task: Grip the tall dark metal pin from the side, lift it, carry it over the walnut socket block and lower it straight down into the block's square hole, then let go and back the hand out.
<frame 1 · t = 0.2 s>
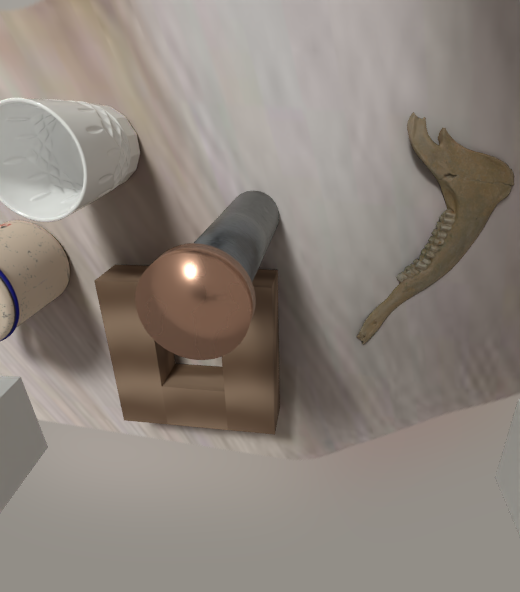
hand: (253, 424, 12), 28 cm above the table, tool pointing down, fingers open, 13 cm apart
white cup: (104, 145, 37), on the table
metal pin: (254, 216, 38), on the table
teacup with lid: (27, 269, 44), on the table
jawbone: (391, 235, 37), on the table
socket block: (201, 339, 44), on the table
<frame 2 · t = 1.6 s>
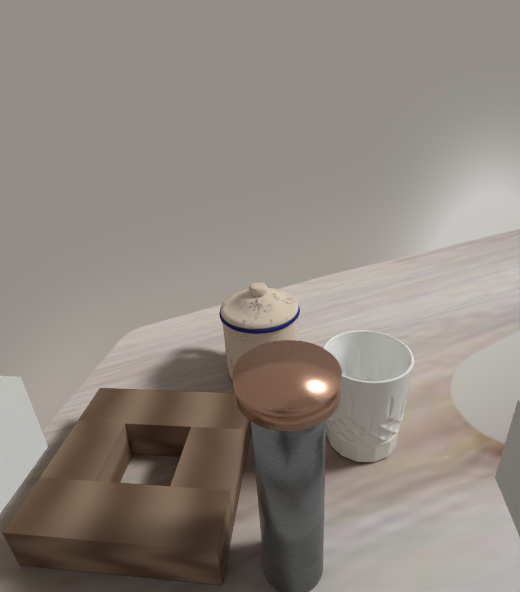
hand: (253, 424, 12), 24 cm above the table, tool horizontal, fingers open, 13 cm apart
white cup: (360, 437, 43), on the table
metal pin: (293, 563, 32), on the table
teacup with lid: (255, 366, 54), on the table
socket block: (153, 483, 39), on the table
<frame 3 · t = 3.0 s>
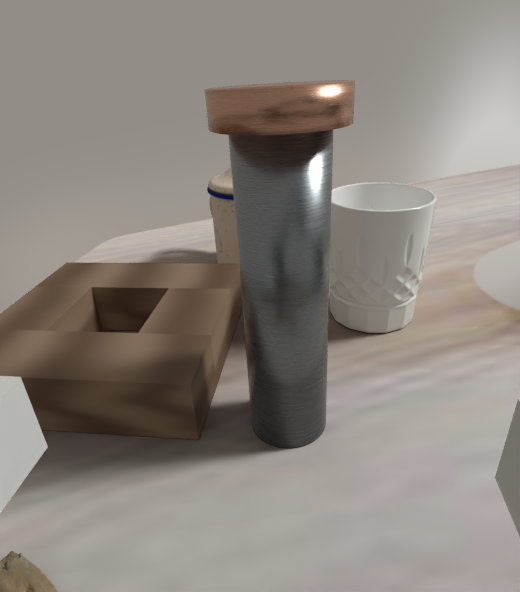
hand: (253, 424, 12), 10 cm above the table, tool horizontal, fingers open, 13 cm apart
white cup: (370, 314, 36), on the table
metal pin: (288, 419, 26), on the table
teacup with lid: (249, 262, 48), on the table
socket block: (123, 353, 33), on the table
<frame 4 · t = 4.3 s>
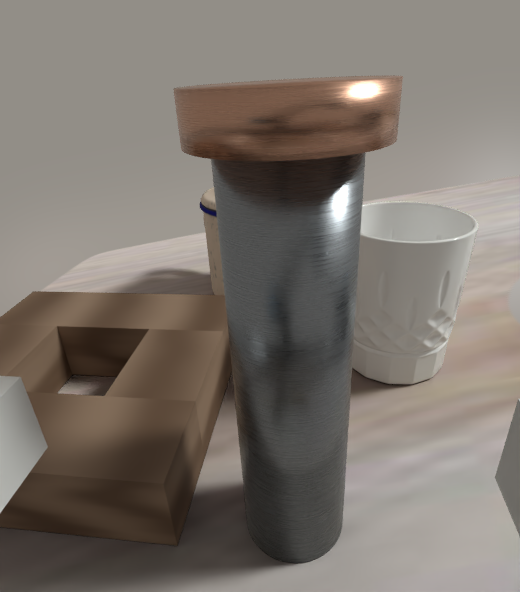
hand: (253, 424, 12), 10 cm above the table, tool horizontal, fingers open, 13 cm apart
white cup: (390, 357, 31), on the table
metal pin: (294, 514, 20), on the table
teacup with lid: (248, 285, 42), on the table
socket block: (93, 408, 27), on the table
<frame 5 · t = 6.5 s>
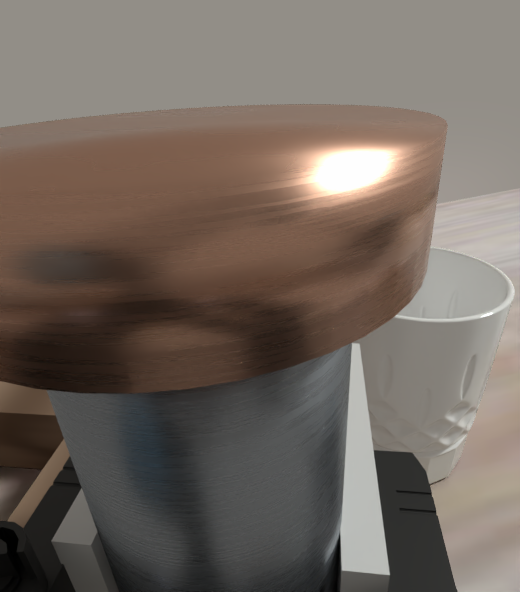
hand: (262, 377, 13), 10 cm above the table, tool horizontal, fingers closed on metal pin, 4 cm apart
white cup: (394, 440, 24), on the table
socket block: (4, 524, 21), on the table
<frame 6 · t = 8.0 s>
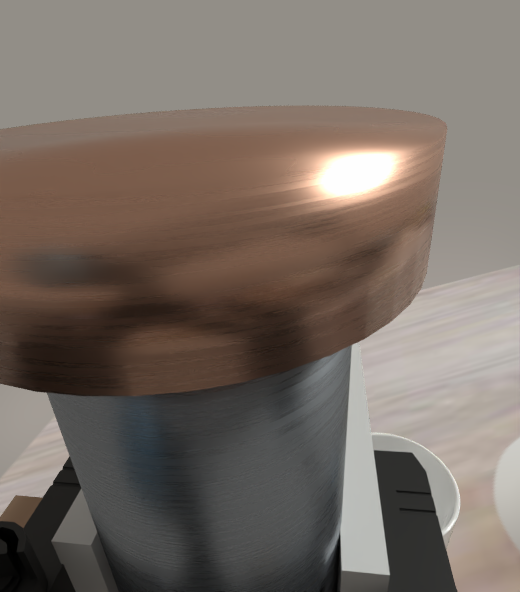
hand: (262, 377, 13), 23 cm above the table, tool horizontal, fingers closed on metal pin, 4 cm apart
white cup: (374, 580, 30), on the table
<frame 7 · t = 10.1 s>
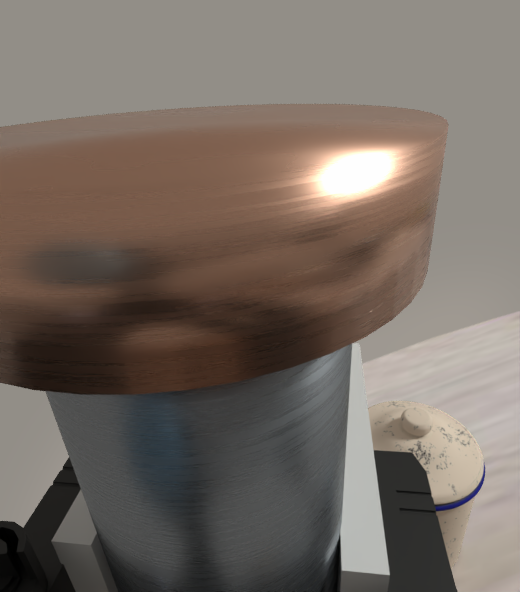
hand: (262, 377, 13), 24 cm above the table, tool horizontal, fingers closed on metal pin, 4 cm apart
teacup with lid: (383, 517, 35), on the table
when the fingers open (11 cm above the table, at t = 13.0 s): metal pin drops 1 cm, resting in socket block.
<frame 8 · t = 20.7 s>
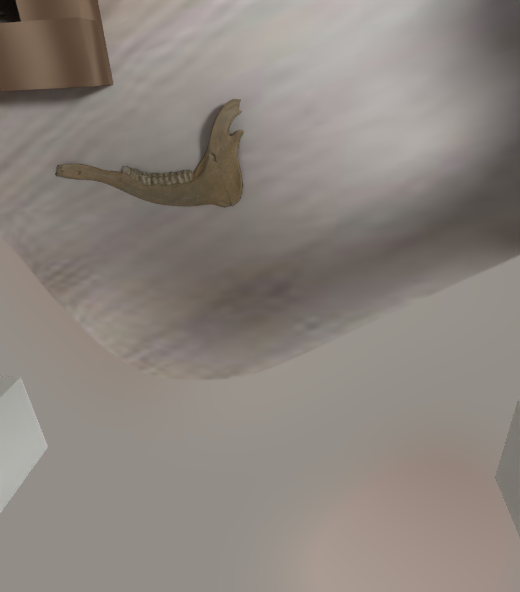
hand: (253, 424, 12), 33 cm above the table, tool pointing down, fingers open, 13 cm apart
jawbone: (152, 143, 42), on the table
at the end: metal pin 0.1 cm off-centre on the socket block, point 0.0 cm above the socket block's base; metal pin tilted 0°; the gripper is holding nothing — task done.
